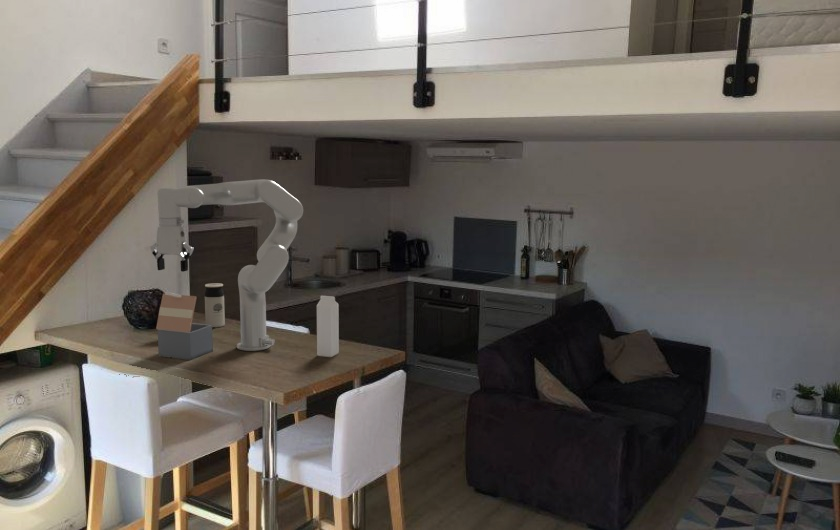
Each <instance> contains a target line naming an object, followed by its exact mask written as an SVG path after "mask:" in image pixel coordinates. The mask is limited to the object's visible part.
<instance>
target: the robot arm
mask: <svg viewBox="0 0 840 530" xmlns="http://www.w3.org/2000/svg"><path fill="white" fill-rule="evenodd" d="M156 193H157V194H156V196H157V209H158V210H157V211H158V214H157V215H158V226H157V230H156V243H154V244H152V245H150V247H149V249H150V251H151V254H152V255H153V256H154V258H155V260H156V266H157V267H156V268H157V271H162V270H165V267H166V266H165V258H164V257H165V255H169V256H170V255H172V256H178V257H179V258H180V259H181V260H180V263H179V264H180V271H181V272H187V271H188V270H189V261H188V260H189V259H190V258H191V256H192V255H193V252H194V247H192V246H191V245H190V244H188V239H187V235H186V234H187V233H186V230H185V227H184V226H183V225H182V224H184V222H185V221H184V219H182V208H189V209H196V208H199V207H200V206H207V205H221V206H237V205H245V204H257V203H258V204H259V203H265V204H266V205H267V206H268V207H270V208H271V209H272V210H273V214H274V217H275V225H274V228H273V229H272V230H271V232H270V233H269V235H268V237H267V238H266V239H265V240H264V242H263V243H262V244H261V246H260V247H259V248H258V250H257V252H256V260H257V261H258V262H257V263H256V264H248V265H245V266H243V267H242V268H241V269H240V271H239V273H238V276H237V284H238V292H239V311H240V312H239V313H240V316H239V317H240V342H238V343H237V344H236V349H238V350H240V351H245V352H257V351H264V350H267V349H269V348H270V347H271V346H274V345H275V342H276V339H275V338H270V335H269V334H267V311H266V309H267V300H266V299H267V298H266V292H268V291H269V290H270V289H271V288H272V287H273V285H275V283H276V281H277V280H278V279H279V277H280V276H281V274H282V273H283V272H284V270H285V268H286V267H287V265H288V263H289V259H290V255H289V252H288V249H289V247H290V245H291V244H292V242H293V241H294V239H295V238H296V235H297V232H298V221H299V220H300V219H301V218H302V217H303V214H304V207H303V204H302V202H301V201H300V200H298V199H297V198H296V197H294V195H292V194H291V193H289V192H288V191H287V190H286V189H285V188H283V187H282V186H281V185H280V184H278V183H276V182H275V181H273V180H271V179H249V180H239V181H237V180H236V181H226V182H219V183H218V182H217V183H207V184H195V185H186V186H182V187H181V188H179V187H178V188H177V187H160V188H158V190H157V192H156Z"/></svg>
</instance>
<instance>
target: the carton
mask: <svg viewBox="0 0 840 530" xmlns="http://www.w3.org/2000/svg"><path fill="white" fill-rule="evenodd" d="M213 341H214V339H213V327H212V325H206V323H205V324H202V323H195V322H194V323H193V322H192V325H191V330H190V333H189V332H179V331H169V330H160V329H157V350H158V357H162V356H163V357H164V358H170V357H172V358H171V359H180V360H181V359H182V360H190V361H191V360H194V359H197V358H199V357H202V356H204V355H207V354H209V353H212V352H214V343H213ZM163 357H162V358H163Z"/></svg>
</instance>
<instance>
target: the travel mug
mask: <svg viewBox="0 0 840 530" xmlns="http://www.w3.org/2000/svg"><path fill="white" fill-rule="evenodd" d="M204 286H205V290H204V316H205V320H204V322H205V325H212V328H221V327H223V326H225V325H226V322H225V320H226V319H225V318H226V317H225V316H226V315H225V292H224V290H223V289H224V288H223V286H224V284H223V283H218V282H217V283H216V282H215V283H206V284H205V285H204Z"/></svg>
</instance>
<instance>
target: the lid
mask: <svg viewBox="0 0 840 530" xmlns="http://www.w3.org/2000/svg"><path fill="white" fill-rule="evenodd" d="M196 302H197V296H196V295H185V294H179V293H177V292H172V291H165V293H162V297H161V301H160V306H159V311H158V317H157V322H156V330H158V329H160V330H169V331H179V332H189V333H190V330H191V325H192V323H193V319H194V314H195V307H196Z"/></svg>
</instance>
